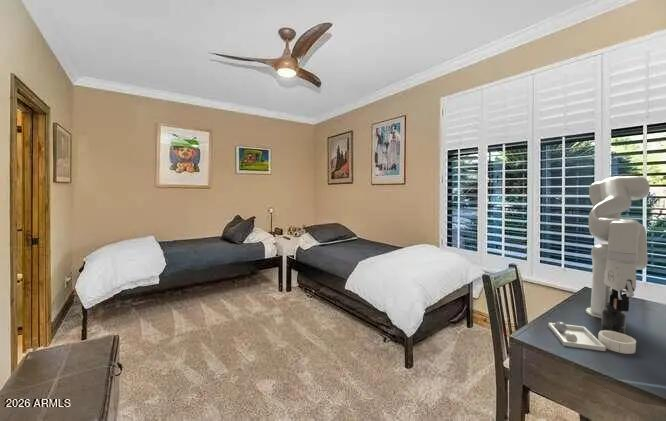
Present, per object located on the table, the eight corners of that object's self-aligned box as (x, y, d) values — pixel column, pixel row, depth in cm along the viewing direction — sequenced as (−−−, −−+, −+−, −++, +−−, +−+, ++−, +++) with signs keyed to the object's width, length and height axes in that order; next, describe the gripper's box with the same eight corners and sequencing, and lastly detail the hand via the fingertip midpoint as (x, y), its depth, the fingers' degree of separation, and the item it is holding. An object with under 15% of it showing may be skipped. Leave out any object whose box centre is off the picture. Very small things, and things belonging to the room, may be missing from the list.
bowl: (593, 339, 114) (593, 328, 114) (625, 343, 111) (625, 332, 111) (606, 352, 105) (607, 341, 105) (642, 357, 102) (642, 345, 102)
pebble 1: (554, 329, 121) (554, 320, 121) (564, 330, 120) (565, 321, 120) (557, 333, 118) (557, 324, 117) (568, 334, 117) (569, 325, 116)
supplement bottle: (627, 341, 112) (629, 309, 111) (602, 336, 116) (604, 305, 115) (622, 333, 118) (624, 303, 117) (598, 329, 122) (600, 300, 121)
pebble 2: (563, 339, 113) (564, 330, 112) (574, 341, 112) (575, 332, 111) (567, 344, 110) (567, 335, 109) (578, 345, 108) (579, 336, 108)
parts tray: (548, 327, 124) (548, 322, 124) (584, 331, 120) (584, 326, 120) (564, 347, 109) (564, 341, 108) (605, 352, 105) (605, 347, 105)
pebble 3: (617, 310, 105) (618, 300, 105) (612, 306, 109) (612, 297, 108) (630, 312, 104) (631, 301, 104) (624, 308, 108) (625, 298, 107)
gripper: (596, 251, 114) (593, 299, 116) (622, 261, 99) (618, 316, 100) (621, 252, 112) (618, 301, 113) (651, 263, 96) (647, 319, 98)
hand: (618, 307), depth 107 cm, fingers closed on pebble 3, 3 cm apart
